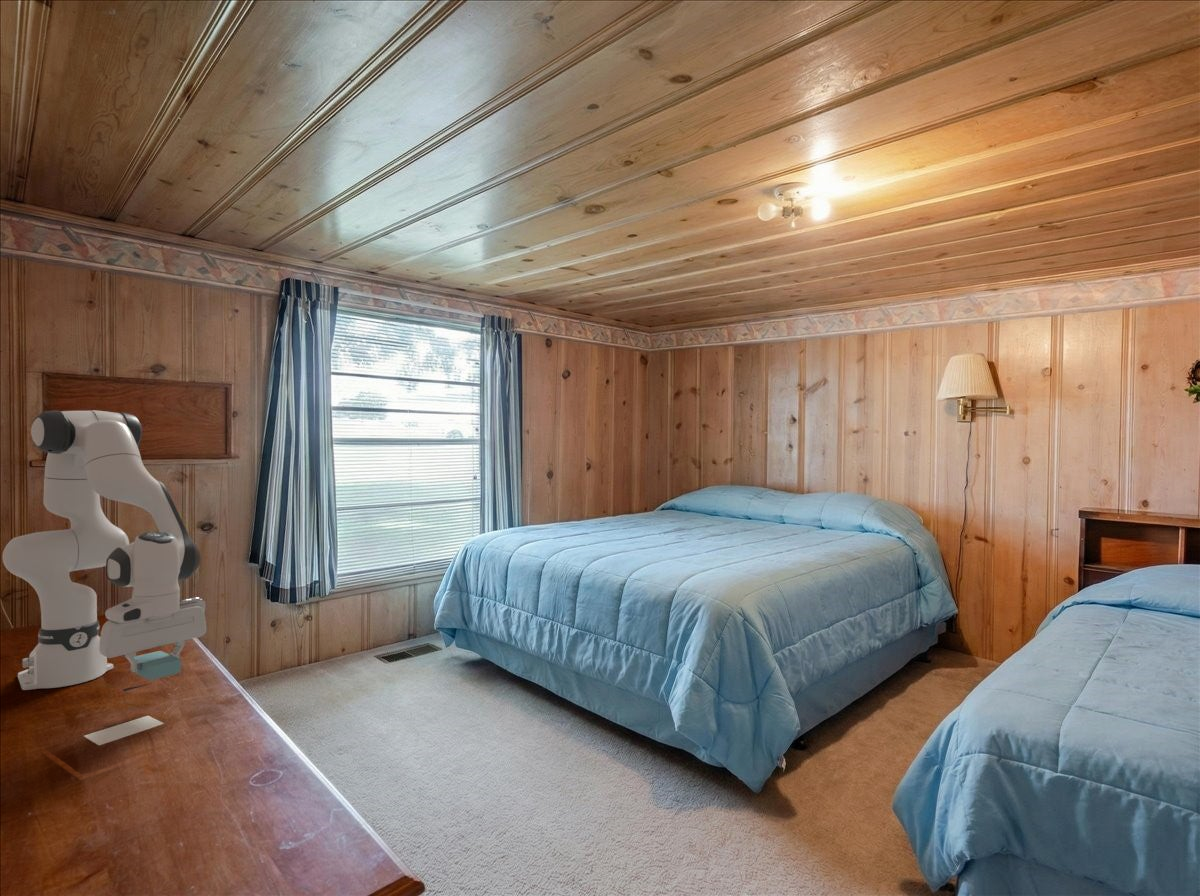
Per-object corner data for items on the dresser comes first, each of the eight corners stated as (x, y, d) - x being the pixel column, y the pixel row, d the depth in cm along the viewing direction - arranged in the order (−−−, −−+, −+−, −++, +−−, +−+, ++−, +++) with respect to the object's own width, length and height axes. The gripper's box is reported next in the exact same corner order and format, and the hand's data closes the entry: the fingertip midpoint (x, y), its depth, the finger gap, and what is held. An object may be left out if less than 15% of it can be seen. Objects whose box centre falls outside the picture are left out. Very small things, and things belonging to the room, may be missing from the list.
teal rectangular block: (130, 670, 142) (130, 657, 142) (159, 663, 147) (160, 650, 147) (150, 680, 136) (150, 666, 136) (180, 672, 141) (181, 659, 141)
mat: (68, 731, 133) (68, 727, 133) (164, 702, 148) (164, 699, 148) (102, 751, 123) (102, 748, 123) (200, 718, 139) (200, 715, 139)
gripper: (198, 593, 152) (198, 650, 152) (96, 612, 134) (95, 676, 135) (212, 597, 148) (211, 655, 149) (108, 617, 131) (108, 682, 131)
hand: (155, 665), depth 141 cm, fingers closed on teal rectangular block, 6 cm apart
